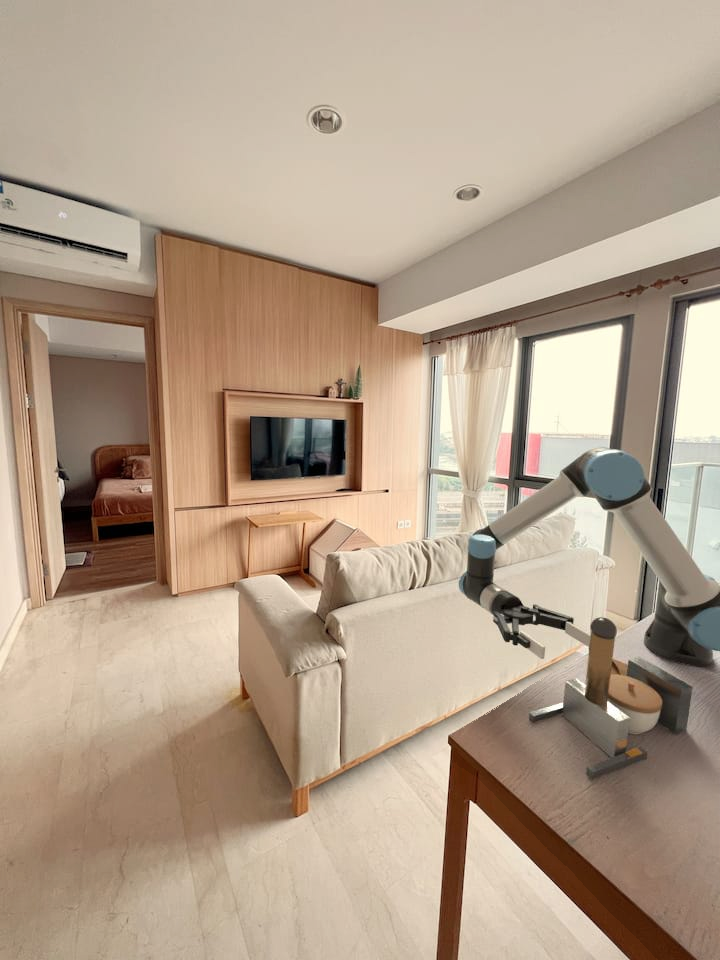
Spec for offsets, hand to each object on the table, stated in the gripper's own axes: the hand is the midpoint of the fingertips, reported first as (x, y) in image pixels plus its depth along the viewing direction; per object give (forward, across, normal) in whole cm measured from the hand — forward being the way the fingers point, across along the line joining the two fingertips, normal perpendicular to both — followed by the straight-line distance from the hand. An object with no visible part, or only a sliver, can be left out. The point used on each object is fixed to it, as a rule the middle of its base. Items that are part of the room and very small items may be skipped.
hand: (568, 647), depth 85 cm
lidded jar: (+8, -10, -15) cm, 20 cm away
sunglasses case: (-1, -23, -16) cm, 28 cm away
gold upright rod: (+8, 0, -15) cm, 17 cm away
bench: (+8, -5, -15) cm, 18 cm away
